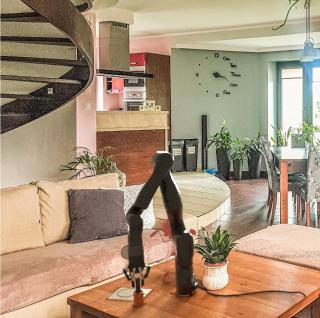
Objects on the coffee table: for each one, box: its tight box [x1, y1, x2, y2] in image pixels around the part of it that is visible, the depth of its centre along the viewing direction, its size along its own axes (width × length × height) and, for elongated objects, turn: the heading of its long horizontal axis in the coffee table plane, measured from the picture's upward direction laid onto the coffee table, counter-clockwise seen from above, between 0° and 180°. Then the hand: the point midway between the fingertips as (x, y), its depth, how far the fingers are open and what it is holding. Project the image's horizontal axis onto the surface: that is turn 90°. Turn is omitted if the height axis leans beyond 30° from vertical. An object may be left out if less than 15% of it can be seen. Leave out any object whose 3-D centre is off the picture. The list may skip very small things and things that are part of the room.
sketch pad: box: [107, 286, 153, 301], centre depth 227 cm, size 18×14×1 cm
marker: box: [134, 275, 141, 293], centre depth 214 cm, size 2×2×14 cm
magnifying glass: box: [120, 244, 132, 277], centre depth 247 cm, size 9×2×20 cm, turn 105°
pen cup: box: [133, 288, 145, 307], centre depth 214 cm, size 5×5×7 cm
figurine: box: [149, 217, 197, 283], centre depth 247 cm, size 15×26×35 cm, turn 115°
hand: (137, 286), depth 214 cm, fingers open, 3 cm apart
